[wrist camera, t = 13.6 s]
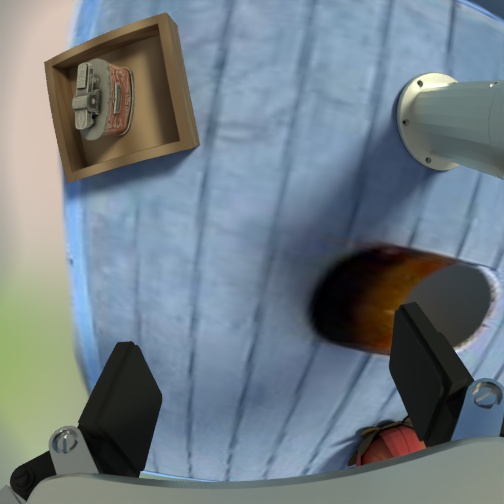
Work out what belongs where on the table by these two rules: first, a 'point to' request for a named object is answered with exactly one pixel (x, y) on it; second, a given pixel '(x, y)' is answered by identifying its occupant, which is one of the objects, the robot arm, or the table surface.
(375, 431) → the decorative flower
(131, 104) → the lighter
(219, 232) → the table surface
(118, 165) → the walled box
